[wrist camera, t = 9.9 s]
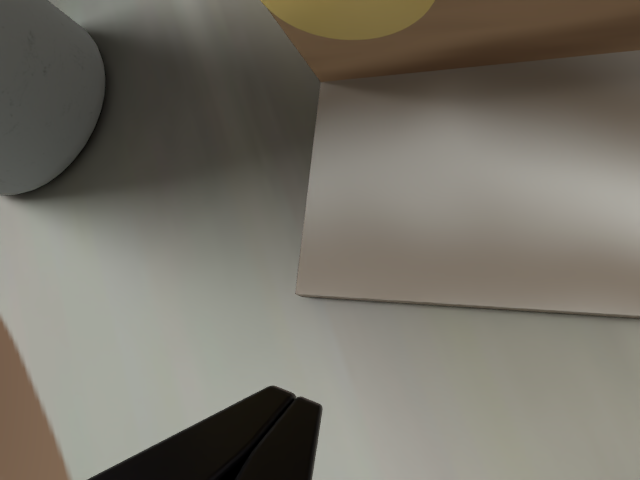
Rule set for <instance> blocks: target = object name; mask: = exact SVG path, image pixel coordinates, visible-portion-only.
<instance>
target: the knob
mask: <svg viewBox="0 0 640 480" xmlns="http://www.w3.org/2000/svg"><path fill="white" fill-rule="evenodd" d="M434 1H435V0H261V2H262V3H263V4H264V5H265V6H266V7H267V8H268V9H269V10H270V11H271V12H272V13H273V14H275V15H276V16H277V17H278V18H280V19H281V20H283V21H285V22H286V23H288V24H290V25H292V26H294V27H296V28H298V29H300V30H303V31H305V32H308V33H311V34H314V35H317V36H322V37H326V38H332V39H341V40H365V39H373V38H379V37H383V36H387V35H390V34H393V33H396V32H399V31H401V30H403V29H405V28H407V27H409V26H410V25H412V24H414V23H415V22H416V21H418V20H419V19H420V18H421V17H423V16H424V15H425V13H426V12H427V11H428V10H429V9H430V7H431V6H432V4H433V3H434Z"/></svg>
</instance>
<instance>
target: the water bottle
mask: <svg viewBox="0 0 640 480" xmlns="http://www.w3.org/2000/svg"><path fill="white" fill-rule="evenodd" d="M104 95H105V71H104V63H103V61H102V58H101V55H100V52H99V50H98V47H97V45H96V43H95V42H94V40H93V39H92V38H91V36H90V35H89V34H88V32H87V31H86V30H85V29H84V28H82V27H81V26H80V25H78V24H77V23H76V22H75V21H73V20H72V19H71V18H70V17H68V16H67V15H66V14H64V13H63V12H62V11H61V10H59V9H58V8H57V7H55V6H54V5H53V4H52V3H50V2H49V1H48V0H0V195H16V194H20V193H24V192H28V191H32V190H35V189H37V188H39V187H41V186H43V185H45V184H47V183H48V182H50V181H51V180H52V179H54V178H55V177H56V176H58V175H59V174H61V173H62V172H63V171H64V170H65V169H66V168H67V167H68V166H69V165H70V164H71V163H72V162H73V161H74V159H75V158H76V157H77V155H78V154H79V153H80V151H81V150H82V149H83V147H84V146H85V144H86V143H87V141H88V139H89V137H90V135H91V134H92V132H93V130H94V128H95V125H96V123H97V120H98V117H99V115H100V112H101V108H102V104H103V99H104Z"/></svg>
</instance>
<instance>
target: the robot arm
mask: <svg viewBox="0 0 640 480" xmlns="http://www.w3.org/2000/svg"><path fill="white" fill-rule="evenodd" d="M321 416H322V406H321V405H320V404H318V403H316V402H313V401H311V400H309V399H306V398H304V397H297V398H296V396H295V394H293V393H291V392H289V391H286V390H284V389H282V388H279V387H277V386H269V387H266V388H264V389H262V390H261V391H259V392H257V393H255V394H253V395H251V396H249V397H247V398H245V399H243V400H241V401H239V402H237V403H235V404H233V405H231V406H229V407H227V408H226V409H224V410H222V411H220V412H218V413H216V414H214V415H212V416H210V417H208V418H206V419H204V420H202V421H200V422H198V423H196V424H194V425H193V426H191V427H189V428H187V429H185V430H183V431H181V432H179V433H177V434H175V435H173V436H171V437H169V438H167V439H165V440H163V441H161V442H159V443H158V444H156V445H154V446H152V447H150V448H148V449H146V450H144V451H142V452H140V453H138V454H136V455H134V456H132V457H130V458H128V459H126V460H124V461H123V462H121V463H119V464H117V465H115V466H113V467H111V468H109V469H107V470H105V471H103V472H101V473H99V474H97V475H95V476H93V477H91V478H89V479H88V480H312V475H313V469H314V462H315V456H316V449H317V442H318V436H319V429H320V423H321Z"/></svg>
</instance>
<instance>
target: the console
mask: <svg viewBox="0 0 640 480" xmlns="http://www.w3.org/2000/svg"><path fill="white" fill-rule="evenodd" d="M267 9H268V8H267ZM268 10H269V9H268ZM269 11H270V10H269ZM270 13H271V14H272V15H273V17H274V18H275V20H276V21H277V22H278V24H279V25H280V26H281V28H282V29H283V31H284V32H285V33H286V35H287V36H288V38H289V39H290V40H291V42H292V43H293V44H294V46H295V47H296V49H297V50H298V51H299V53H300V54H301V56H302V57H303V58H304V60H305V61H306V62H307V64H308V65H309V67H310V68H311V69H312V71H313V72H314V73H315V75H316V76H317V78H318V79H319V80H320V82H321V84H320V92H319V101H318V109H317V117H316V126H315V134H314V142H313V151H312V159H311V167H310V175H309V184H308V192H307V200H306V209H305V217H304V225H303V233H302V242H301V250H300V258H299V267H298V275H297V283H296V292H295V294H296V295H299V296H302V297H317V298H333V299H348V300H364V301H379V302H395V303H410V304H426V305H441V306H457V307H472V308H487V309H503V310H518V311H534V312H549V313H565V314H580V315H596V316H611V317H627V318H640V0H435V1H434V3H433V4H432V6H431V7H430V9H429V10H428V11H427V12H426V13H425V15H424V16H423V17H421V18H420V19H419V20H418V21H416V22H415V23H414V24H412V25H410V26H409V27H407V28H405V29H403V30H401V31H399V32H396V33H393V34H390V35H387V36H383V37H379V38H373V39H365V40H341V39H332V38H326V37H322V36H317V35H314V34H311V33H308V32H305V31H303V30H300V29H298V28H296V27H294V26H292V25H290V24H288V23H286V22H285V21H283V20H281V19H280V18H278V17H277V16H276V15H275V14H273V13H272V12H271V11H270Z"/></svg>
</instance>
